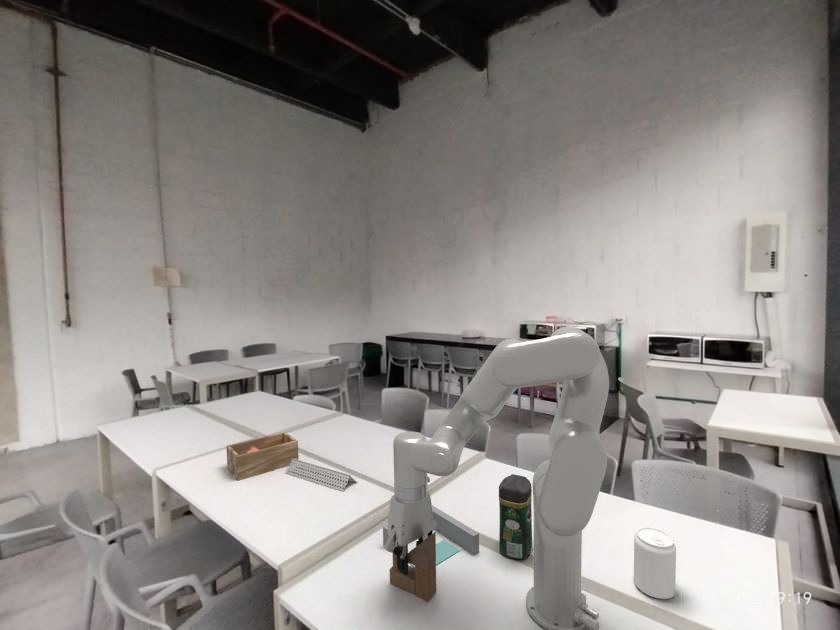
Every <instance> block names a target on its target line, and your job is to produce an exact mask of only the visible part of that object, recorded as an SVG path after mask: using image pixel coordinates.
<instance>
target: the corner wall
mask: <svg viewBox="0 0 840 630" xmlns="http://www.w3.org/2000/svg"><path fill="white" fill-rule="evenodd" d="M432 512H433V519H434V520H435V521H436V522H437V526H436V527H435V529H434V530H435V531H437V532H438V533H440V534H441V535H442V536H445V538H447V539H449V540H450V541H451V542H454V543H455V544H457V545H458V546H459V547H460V548H463V549H464V550H466V551H467V552H469V553H470V554H471V555H473V556H475V555H476V554H478V553H479V552H480V533H479V532H478V531H477V530H475V529H473V528H471V527H470V526H468V525H466V524H464V523H463V522H461V521H460V520H458V519H456V518H454V517H453V516H451V515H450V514H447V513H446V512H444V511H442V510H441V509H440V508H438V507H436V506H434V505H432ZM387 539H388V523H387V524H386V525H384V526H382V540H383V541H382V542H383V543H382V545H383V546H384V545H385V543H386V541H387Z"/></svg>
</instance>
